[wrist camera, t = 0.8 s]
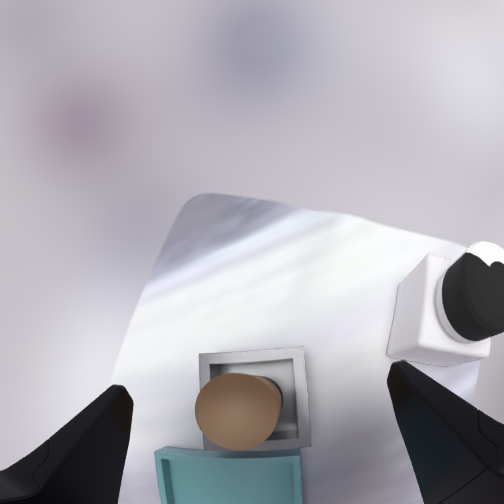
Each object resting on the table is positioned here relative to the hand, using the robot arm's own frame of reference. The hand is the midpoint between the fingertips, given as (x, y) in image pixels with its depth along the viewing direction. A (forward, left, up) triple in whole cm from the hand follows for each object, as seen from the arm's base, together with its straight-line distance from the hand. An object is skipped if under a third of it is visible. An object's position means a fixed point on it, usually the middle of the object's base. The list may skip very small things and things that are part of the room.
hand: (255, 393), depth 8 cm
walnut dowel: (-1, +2, -14) cm, 15 cm away
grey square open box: (-1, +2, -15) cm, 16 cm away
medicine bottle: (+3, -14, -16) cm, 22 cm away
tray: (-12, +5, -15) cm, 20 cm away
